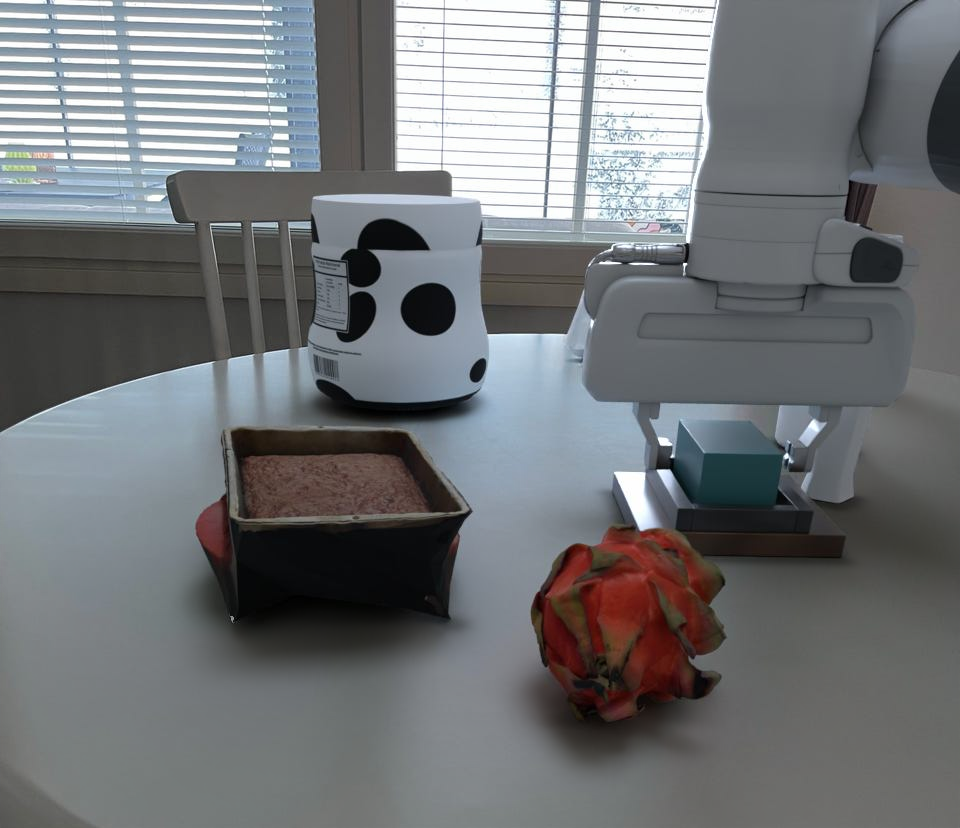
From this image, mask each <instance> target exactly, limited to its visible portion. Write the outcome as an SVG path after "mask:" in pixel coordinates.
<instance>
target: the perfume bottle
mask: <svg viewBox="0 0 960 828" xmlns="http://www.w3.org/2000/svg"><path fill="white" fill-rule="evenodd" d="M873 409H874V407H844V406H843V407H842V412H841V416H840V421H839V424H838V425H837V426H836V428H835V429H834V430H833V431H832V432H831V434H830V435H829V436H828V437H827V438H826V439H825V441H824V442H823V443H822V444H821V445H820V447H819V448H816V453H815V458H814V463H813V468H812V471H811V472H810V473H809V472H806V474H805V477H804V479H803V481H802V484H801V485H800V488H801V489H802V490H803V491H804V492H805V493H806V494H807V495H808V496H809V497H810V498H811V499H812V500H817V501H822V502H828V503H833V504H840V503H841V504H842V503H843V502H845V501H847V500H849V499H852V498H854V497H855V494H854V493H855V492H854V478H853V477H854V473H855V470H856V467H857V463H858V460H859V456H860V453H861V449H862V445H863V443H864V438H865V436H866V433H867V429H868V426H869V422H870V419H871V416H872V413H873Z"/></svg>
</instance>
